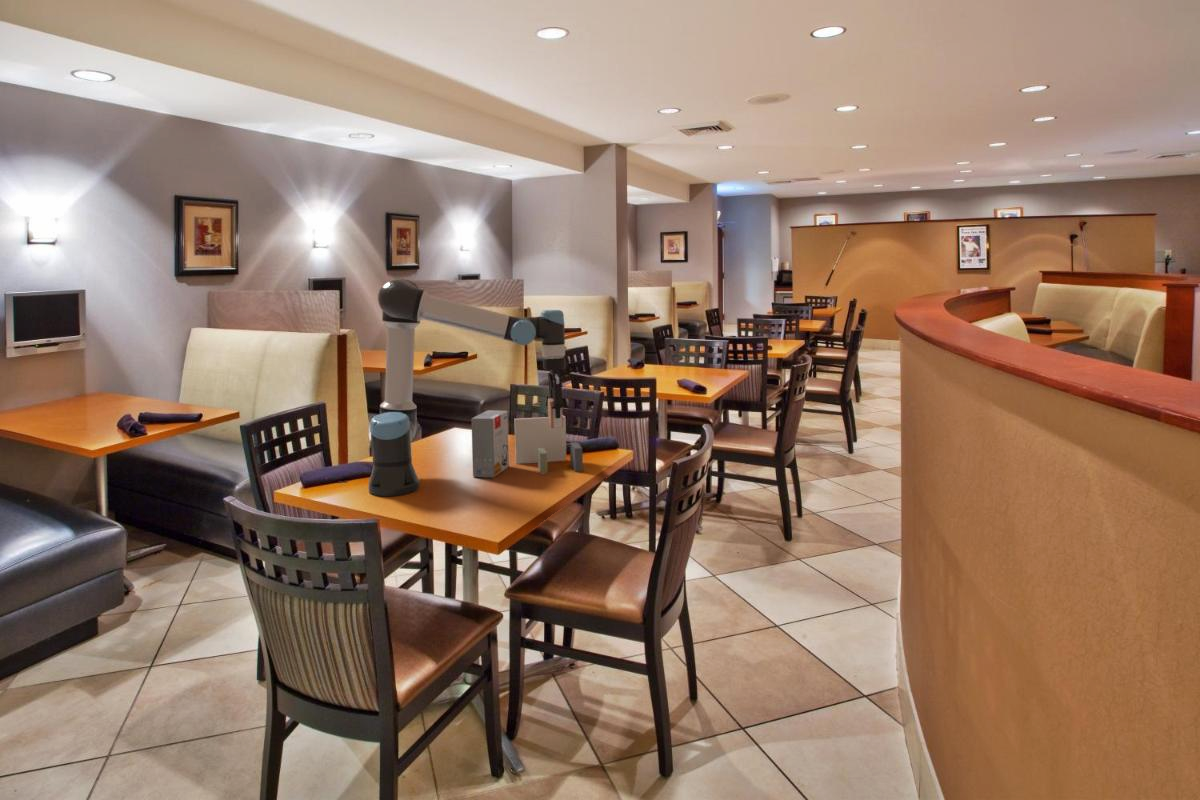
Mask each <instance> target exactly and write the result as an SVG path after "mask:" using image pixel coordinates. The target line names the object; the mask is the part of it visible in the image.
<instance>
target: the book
mask: <svg viewBox="0 0 1200 800" xmlns="http://www.w3.org/2000/svg"><path fill="white" fill-rule="evenodd" d="M553 406H554V404H553V398H549V397H548V398H547V415H548V416H547V417H548V423H549V426H550V427H551V428H554V421H553V409H552V407H553ZM561 409H562V427H561V428H563V416H564V415H563V410H564V409H563V407H562V408H561Z"/></svg>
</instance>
